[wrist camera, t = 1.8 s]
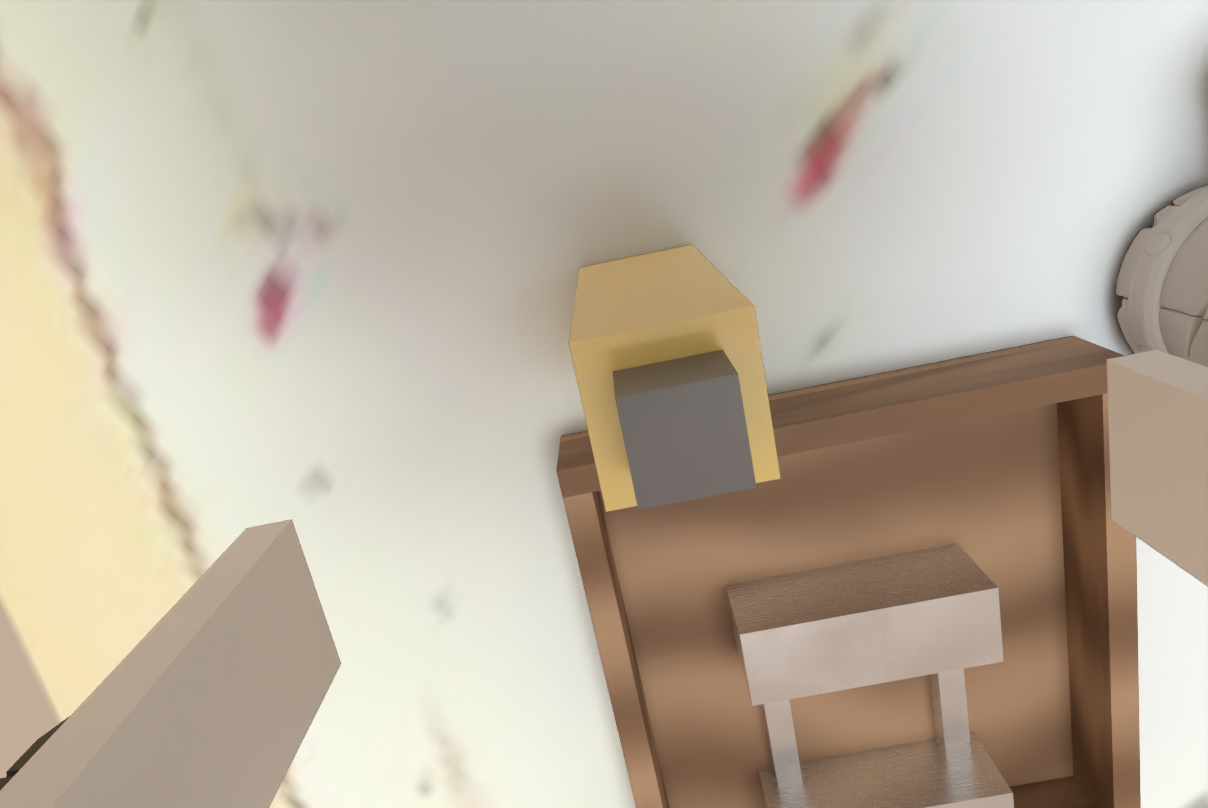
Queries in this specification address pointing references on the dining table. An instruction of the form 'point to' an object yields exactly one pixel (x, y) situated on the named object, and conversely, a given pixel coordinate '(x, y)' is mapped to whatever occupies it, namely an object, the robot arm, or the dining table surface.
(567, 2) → the dining table surface
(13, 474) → the dining table surface
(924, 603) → the inlet
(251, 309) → the dining table surface
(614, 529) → the box
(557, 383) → the dining table surface
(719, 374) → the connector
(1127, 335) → the mug
